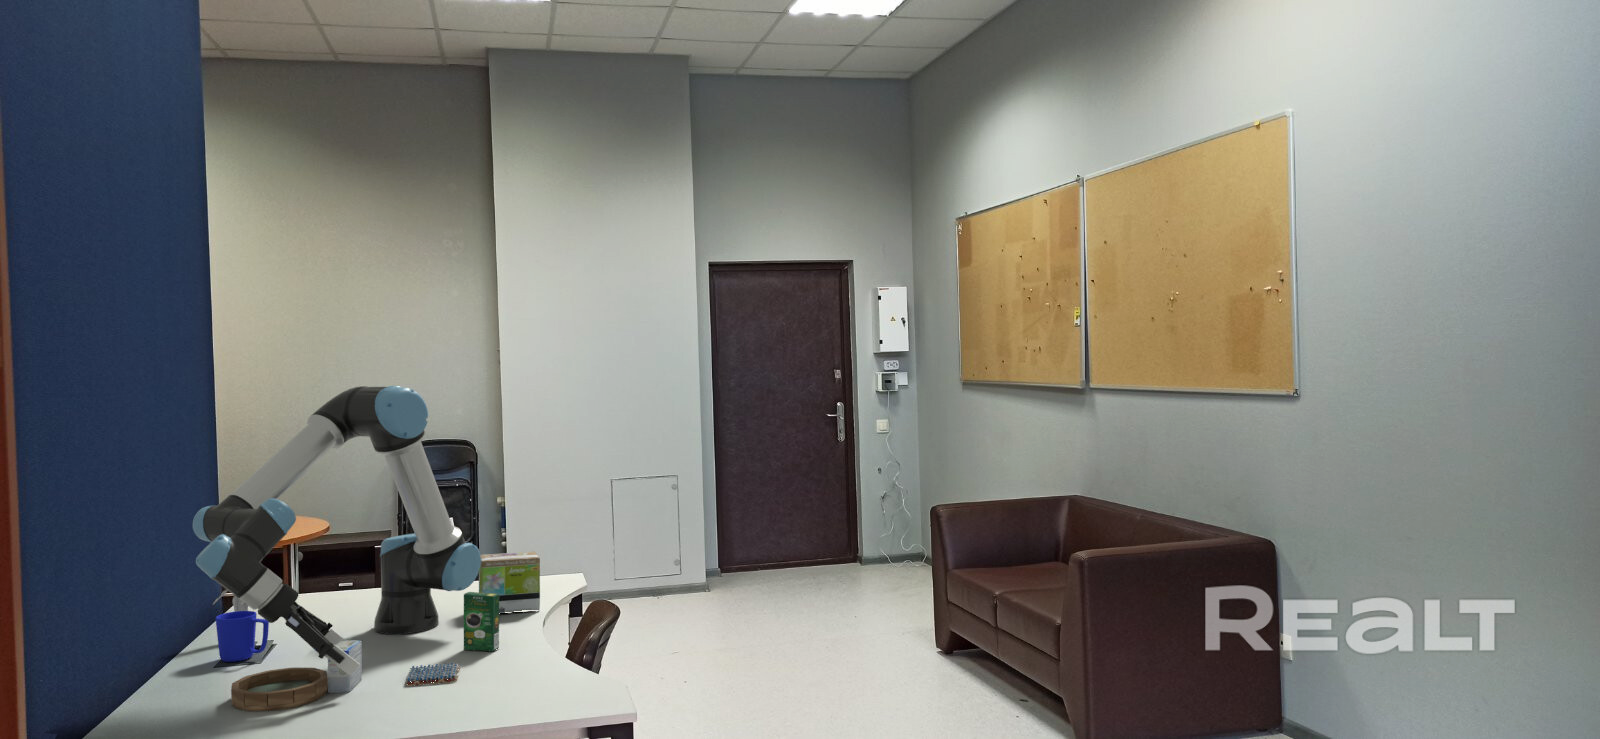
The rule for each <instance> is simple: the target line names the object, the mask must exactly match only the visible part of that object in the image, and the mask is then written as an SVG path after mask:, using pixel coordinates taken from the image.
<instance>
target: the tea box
mask: <svg viewBox="0 0 1600 739" xmlns="http://www.w3.org/2000/svg"><path fill="white" fill-rule="evenodd" d="M480 555H481V565H480V569H479V572H478V593H492V594H499V613H505V612H514V611H522V610H539V611H541V610H540V608H541V559H540V556H539V555H538V554H537V552H536V551H523V552H522V551H521V552H505V553H504V552H503V553H491V554H489V553H488V554H480Z"/></svg>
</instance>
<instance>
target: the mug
mask: <svg viewBox="0 0 1600 739" xmlns="http://www.w3.org/2000/svg"><path fill="white" fill-rule="evenodd" d="M257 614H258V613H257V612H256V611H255V610H253V611H251V610H248V611H235V612H234V611H230V612H225V613H222V614H219V615H217V616H216V617H215V627H216V636H217V646H218V654H219V658H220V660H221V661H223V662H227V663H236V661H237V662H242V660H243V661H246V660H249V659H251V658H252V657H253V655H254V654H259V653H262V652H264V651H265V649H266V647H267V644H268V638H269V628H270V626H269V625H270V623H269V622H268V621H267V620H265V619H264V618H257ZM257 623H261V624H263V626H262V627H263V628H262V639H261V640H262V641H261V645H260V647H259V649H255V644H256V632H257V631H256V629H257ZM250 657H251V658H250ZM248 658H249V659H248ZM245 659H246V660H245Z"/></svg>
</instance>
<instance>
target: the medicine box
mask: <svg viewBox="0 0 1600 739" xmlns="http://www.w3.org/2000/svg"><path fill="white" fill-rule="evenodd" d="M336 646H338V647H339V648H340V649H341V650H343V651H344V652H345V653H346V654H348V655H349V656H350V657H352V658H353V659H354V660H355V661H357V662H358V663H359V664H360V665H359V666H358V668H357V669H356V670H355V671H354V672H353V673H352V674H351V675H348V674H347V673H346V672H344V671H343V670H342V669H341V668H339V667H338V666H337V665H335V664H334V663H333V662H332V661H330V660H329V659H328V658H327V676H328V689H327V693H329V694H339V693H340V694H341V693H350V692H351V691H353V689H354V688H355V687H356V686H357V685H358V684H359V683H360V682H361V681H362V680H363V679H362V677H363V674H362V673H363V672H362V669H363V668H362V667H363V662H362V660H363V659H362V658H363V657H362V654H363V652H362V651H363V649H362V641H361V640H355V639H353V640H346V641H340V642H339V643H338V644H336Z"/></svg>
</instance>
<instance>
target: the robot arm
mask: <svg viewBox="0 0 1600 739" xmlns="http://www.w3.org/2000/svg"><path fill="white" fill-rule="evenodd" d="M428 409H429V408H428V407H427V403H426V402H425V400H424V398H423V397H422V396H421V394H419V392H417V391H416V390H414V389H412V388H408V387H405V386H404V387H403V386H398V385H389V386H365V385H364V386H356V387H351V388H349V389H346V390H344V391H342V392H340V393H339V394H337V395H336V396H334V397H332V398H331V399H330V400H329V401H327V402H325V403H324V404H323V405H321V407H319V408H318V409H316V411H314V412H313V413H312V414H311V415H310V416H309V417H308V419H307V421H306V424H307V425H306V426H305V427H304V428H302V429H301V430H300V431H299V432H298V433H297V434H296V435H295V436H294V437H292V439H290V440H289V441H288V442H287V443H286V444H284V446H282V448H280V449H278V451H277V452H276V453H275V454H274V455H273V456H271V457H270V458H269V459H268V460H267V461H266V462H264V464H262V465H261V467H259V468H258V469H257V470H256V471H255V472H253V474H251V475H250V476H249V477H248V478H246V480H245V481H244V482H242V483H241V484H240V485H239V486H238V487H237V488H236V489H234V491H232V492H231V493H230V494H229V495H228V496H227V497H226V498H225V499H223V500H222V501H221V502H220V503H219V504H218V505H216V504H215V505H214V504H213V505H207V506H204V507H201V509H199V510H198V511H197V512H196V514H195V515H194V517H193V520H192V530H193V533H194V534H195V536H196V537H197V538H198V539H200V540H201V541H205V542H208V543H209V544H207V546H205V547H204V548H203V550H201V551H200V553H199V554H198V555H197V556H196V558H195V564H196V565H197V567H198V569H200V570H201V571H203V573H205V574H206V575H207V576H208V577H209V578H210V579H211V580H213V581H215V582H216V583H217V584H219V585H220V586H221V587H222V588H224V589H225V590H228V591H227V592H229V593H231V594H232V595H234V596H236V597H237V598H239V599H240V600H242V601H241V605H242V606H244V605H245V604H246V603H247V604H248V608H250V609H252V610H253V611H256V610H257V614H258V615H259V616H260V617H261V618H262V619H265V620H267V621H268V622H269V624H273V623H275V622H276V621H278V620H279V619H280V618H283V619H284V620H285V622H284V625H285V626H287V627H288V628H289V629H291V630H292V631H294V633H296V634H297V635H298V636H299V637H300V638H301V639H302V640H303V641H304V642H306V643H307V644H308V645H309V646H310V647H311V648H312V649H313V650H314V651H315V652H317V653H318V656H317V657H318V658H319V659H321V660H322V659H323V658H324V657H325V658H326V659H327V660H328V659H329V660H330V661H332V662H333V663H334V664H335V665H337V666H338V667H339V668H341V669H342V670H343V671H344V672H346V673H347V674H348V675H351V674H352V673H353V672H354V671H355V670H356V669H357V668H358V666H359V665H360V664H359V663H358V662H357V661H355V660H354V659H353V658H352V657H350V656H349V655H348V654H346V653H345V652H344V651H343V650H341V649H340V648H339V647H338V646H336V644H338V643H339V642H340V641H347V639H345V638H343V636H341V635H340V634H338V632H336V631H335V630H333V629H331V628H332V627H333V625H334V624H332V623H331V622H328V623H327V622H326V621H324V620H322V619H320V618H319V617H317V616H316V615H314V614H313V613H312V612H310V611H309V610H307V609H305V608H304V607H303V606H302V605H300V604H298V603H297V600H298V598H299V592H298V591H297V590H295V589H294V588H293V587H292V586H290V585H289V584H288V583H283V579H282V578H281V577H279V576H278V575H277V574H276V573H274V572H273V571H272V570H271V569H270V568H268V567H267V566H265V565H263V563H262V561H263V559H265V557H266V556H267V555H268V554H269V553H270V552H271V550H273V549H274V548H275V546H276V545H277V544H278V543H279V542H280V541H281V540H282V539H284V538H285V536H286V535H287V534H288V532H289V530H291V528H292V527H293V526H294V524H296V521H297V516H296V513H295V511H294V510H293V509H292V508H291V506H290V505H288V503H286V502H284V501H283V500H280V498H281V497H283V495H284V494H286V492H287V491H288V490H290V489H291V488H292V487H293V486H294V485H295V484H296V483H297V482H298V481H299V480H300V479H301V478H302V477H303V476H305V474H306V473H307V472H309V471H310V470H311V469H312V468H313V467H314V466H315V465H316V464H317V463H318V462H319V461H320V460H322V459H323V458H324V457H326V455H327V454H328V453H329V452H330V451H331V450H332V449H339V448H341V447H342V446H343V445H345V443H347V442H348V441H350V440H351V439H354V438H359V437H369V438H370V442H371V444H372V447H373V449H374V451H375V453H378V454H381V455H383V456H384V458H385V460H386V463H387V465H388V468H389V470H390V473H391V476H392V478H393V481H394V483H395V487H396V489H397V491H398V494H399V496H400V498H401V501H402V504H403V506H404V509H405V512H406V514H407V517H408V519H409V523H410V525H411V527H412V529H413V532H414V533H408V534H402V535H397V536H396V535H395V536H391V537H387V538H384V539H383V540H382V542H381V544H380V554H379V561H380V562H379V563H380V586H381V588H380V589H381V591H380V592H381V593H380V594H381V595H380V596H381V598H380V601H379V606H378V608H377V611H376V615H375V617H374V618H375V619H374V631H375V632H377V633H380V634H388V635H399V634H400V635H402V634H403V635H404V634H412V633H418V632H424V631H428V630H431V629H433V628H436V627H438V625H439V612H438V611H437V608H436V604H435V602H434V600H433V597H432V593H431V591H432V590H431V589H433V590H441V591H446V592H453V591H455V592H459V591H463V590H464V591H465V590H466V589H467V588H469V587H470V586H471V585H472V584H474V581H475V580H476V578H477V577H478V576H479V569H480V565H481V555H482V554H481V552H480V550H479V548H478V547H477V545H475V544H473V543H471V542H466V540H465V538H464V535H463V532H462V530H461V529H460V528H459V527H457V526H454V525H453V524H452V521H451V519H450V516H449V513H448V510H447V508H446V505H445V502H444V499H443V497H442V495H441V492H440V489H439V487H438V484H437V482H436V478H435V476H434V473H433V470H432V468H431V464H430V462H429V460H428V457H427V455H426V451H425V449H424V446H423V443H422V441H423V439H424V437H425V434H426V431H425V429H426V427H427V425H428V420H427V419H428V418H429V410H428Z"/></svg>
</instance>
